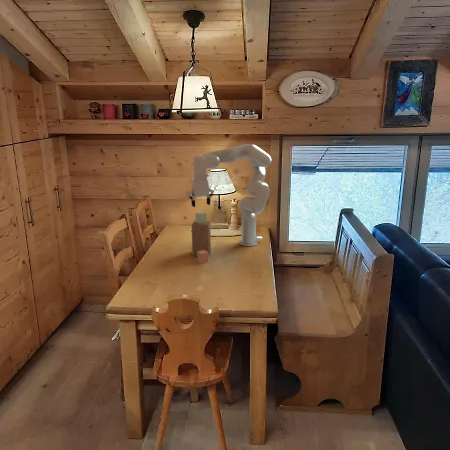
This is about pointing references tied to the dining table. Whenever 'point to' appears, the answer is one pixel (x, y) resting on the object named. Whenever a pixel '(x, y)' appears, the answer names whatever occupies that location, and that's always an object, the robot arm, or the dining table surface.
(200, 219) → the brick sage
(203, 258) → the brick terracotta
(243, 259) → the dining table surface
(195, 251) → the wooden block
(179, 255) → the dining table surface
